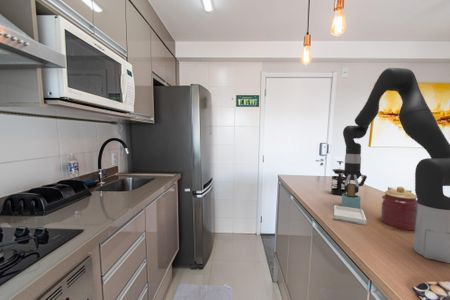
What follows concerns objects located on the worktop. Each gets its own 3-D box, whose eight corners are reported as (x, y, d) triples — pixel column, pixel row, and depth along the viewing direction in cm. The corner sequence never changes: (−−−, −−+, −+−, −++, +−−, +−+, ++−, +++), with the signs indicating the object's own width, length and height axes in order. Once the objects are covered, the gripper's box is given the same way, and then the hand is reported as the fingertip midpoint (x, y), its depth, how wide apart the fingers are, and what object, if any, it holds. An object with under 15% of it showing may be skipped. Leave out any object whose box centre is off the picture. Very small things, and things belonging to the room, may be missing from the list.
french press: (330, 195, 137) (331, 161, 135) (329, 191, 146) (330, 160, 144) (350, 197, 132) (352, 162, 131) (348, 193, 141) (350, 161, 139)
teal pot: (360, 211, 108) (361, 199, 108) (341, 208, 112) (342, 196, 112) (358, 206, 116) (359, 194, 115) (341, 204, 120) (341, 192, 119)
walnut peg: (355, 207, 111) (356, 185, 110) (346, 205, 113) (347, 184, 112) (354, 204, 115) (355, 183, 114) (346, 203, 116) (347, 183, 116)
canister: (421, 234, 84) (424, 192, 83) (382, 226, 91) (384, 188, 90) (413, 222, 95) (415, 185, 94) (378, 216, 102) (380, 182, 101)
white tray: (366, 225, 92) (366, 220, 92) (333, 219, 98) (334, 214, 98) (362, 214, 105) (362, 209, 105) (334, 209, 111) (334, 205, 111)
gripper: (338, 161, 112) (336, 192, 113) (369, 163, 105) (367, 196, 107) (337, 160, 119) (336, 189, 120) (367, 162, 112) (365, 192, 113)
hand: (351, 192), depth 113 cm, fingers closed on walnut peg, 4 cm apart
